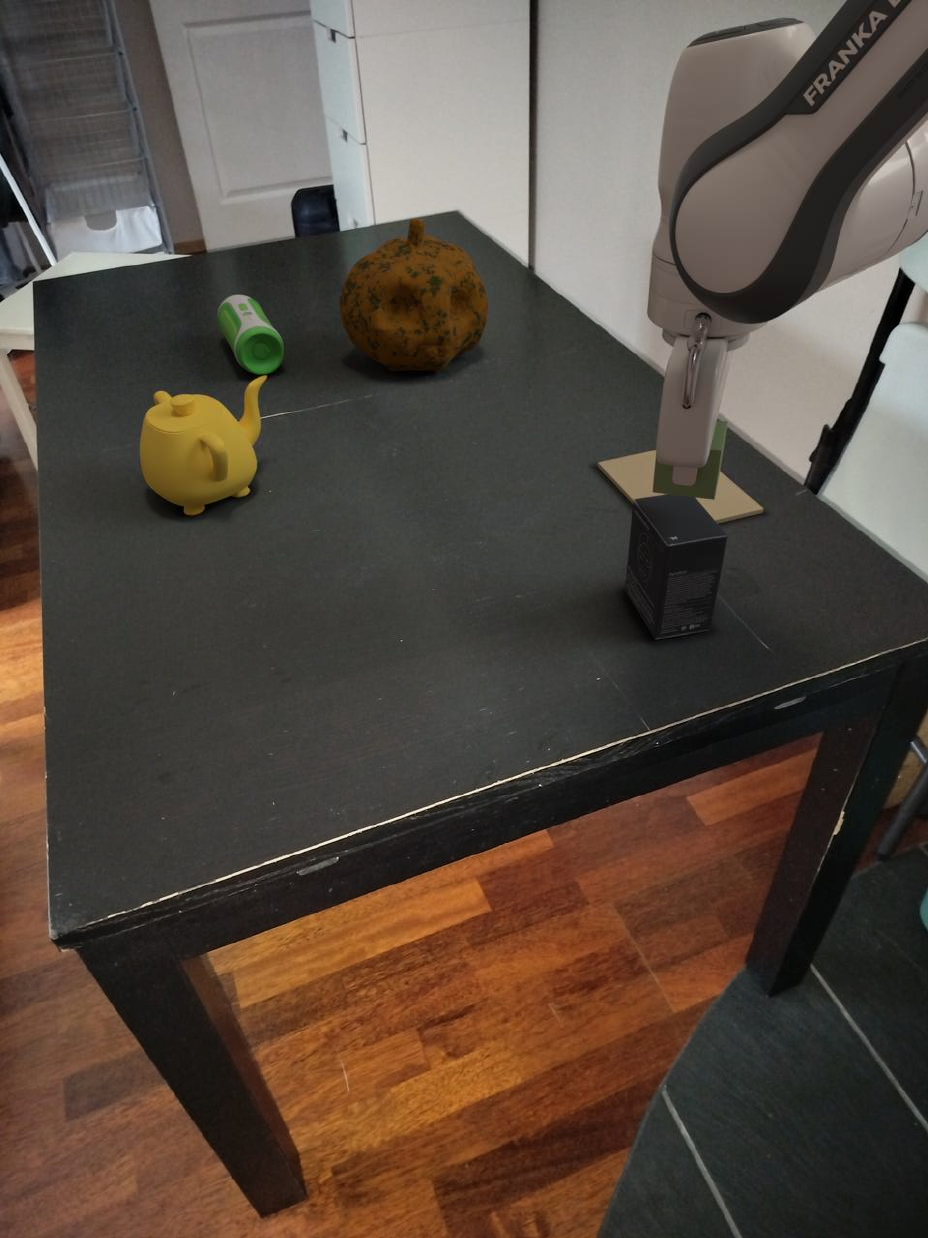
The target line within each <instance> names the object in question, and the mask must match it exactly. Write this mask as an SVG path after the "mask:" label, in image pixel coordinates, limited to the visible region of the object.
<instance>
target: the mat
mask: <svg viewBox="0 0 928 1238" xmlns="http://www.w3.org/2000/svg"><path fill="white" fill-rule="evenodd" d="M655 460H656V449H653V450H649V451H644V452H639V453H634V454H629V455H626V456H620V457H617V458H612V459H608V460H604V461H599V462H597V468H598V469H599V470H600V471H601V472H602V473H603V474H604V475H605V476H606V477H607V478H608V479H609V481H611V483H612V484H613V485H614V486H615V487H616V488H617V489H618V490H619V492H621V493H622V494H623V496H624V497H625V498H626V499H627V500H628V501H629V502H630V503H631V504H632V505H633V501H634V500H635V499H638V498H645V497H652V496H659V495H665V494H661V493H653V492H652V491H653V480H654V470H655ZM696 499H697V500H698V501H699V502H700V504H701V505H702V506H703V507H704V508H705V509H706V511H707V512H708V513H709V514H710V515H711V517H712V518H713V519H714V520H715V521H716V522H717V524H718V525H719V524H722V523H727V522H731V521H735V520H739V519H743V518H744V519H745V518H747V517H748V518H749V517H752V516H755V515H759V514H763V513H764V507H762V506H761V505H760V504H759V503H758V502H757V501H756V500H754V499H753V498H752V497H751V496H750V495H748V494H747V492H745V491H744V490H743V489H741V487H739V486H738V485H737V484H736V483H735V482H733V481H732V480H731V478H729V477H727V476H726V475H725V473H724V472H722V471H721V470H720V475H719V480H718V485H717V490H716V494H715V499H714V500H712V499H704V498H696Z"/></svg>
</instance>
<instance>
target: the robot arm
mask: <svg viewBox="0 0 928 1238" xmlns="http://www.w3.org/2000/svg"><path fill="white" fill-rule="evenodd" d="M662 122H663V123H662V130H661V137H660V138H661V139H660V145H659V146H660V147H659V157H658V170H657V189H658V195H659V200H660V218H659V223H658V227H657V229H656V232H655V233H654V234H655V235H654V237H653V241H652V248H651V259H650V270H649V271H650V272H649V282H648V283H649V285H648V297H647V309H646V314H647V315H646V316H647V318H648V319H649V321H650V322H652V324H654V325H655V326H657V327H659V329H660V328H661V329H662V333H661V337H662V340H663V341H664V343H666V344H668V345H669V346H671V347H672V349H671V352H670V355H669V357H668V361H667V365H666V369H665V373H664V378H663V384H662V391H661V392H662V393H661V398H660V399H661V401H660V407H659V417H658V424H657V434H656V441H655V442H656V443H655V450H656V458H657V461H658V462H659V463H660V464H663V465H669V466H674V467H673V477H672V480H673V482H674V483H675V484H678V485H686V486H691V485H693V484H694V483H695V481H696V476H697V471H698V468H702V467H704V466H705V464H706V462H707V459H708V456H709V452H710V448H711V444H712V439H713V435H714V431H715V426H716V422H717V421H718V419H719V418H718V417H719V413H720V409H721V405H722V400H723V395H724V391H725V387H726V383H727V378H728V374H729V370H730V366H731V361H732V358H733V354H734V352H735V350H738V349H740V348H742V347H744V346H745V345H746V344H747V343H748V342H749V340H750V337H751V336H750V334H751V333H753V332H755V331H757V330H760V329H761V328H763V327H764V326H766V325H767V324H768V323H769V322H770V321H773V320H775V319H777V318H779V317H781V316H783V315H784V314H786V313H788V312H789V311H790V310H792V309H794V308H796V307H797V306H798V305H801V304H802V303H804V302H806V301H807V300H808V299H809V298H811V297H812V296H814V295H815V294H818V293H820V292H821V291H824V290H826V289H828V288H831V287H832V286H835V285H837V284H839V283H841V282H843V281H845V280H848V279H850V278H851V277H854V276H856V275H859V274H860V273H862V272H864V271H866V270H867V269H869V268H871V267H873V266H876V265H878V264H881V263H882V262H884V261H886V260H888V259H890V258H892V257H894V256H896V255H898V254H899V253H901V252H902V251H904V250H906V249H907V248H908V247H909V248H910V247H911V246H912V245H914V244H916V243H917V242H918V241H920V240H921V239H922V238H923V237H924V236H925V235H926V234H927V233H928V0H845V2H844V3H843V4H842V6H841V7H840V8H839V9H838V10H837V12H836V13H835V14H834V16H833V17H832V18H831V19H830V20H829V22H828V23H827V25H825V27H824V28H823V30H822V31H821V32H820V33H819V35H817V36H816V34H815V33H814V31H813V29H812V27H811V26H810V25H809V24H808V23H806V22H805V21H803V20H799V19H797V18H795V17H779V18H773V19H768V20H763V21H758V22H754V23H748V24H745V25H738V26H734V27H728V28H724V29H719V30H715V31H710V32H707V33H705V34H703V35H701V36H698V37H697V38H695V39H694V40H692V41H691V42H690V43H689V45H687V46H686V47H685V48H684V49H683V50H682V52H681V54H680V56H679V58H678V60H677V63H676V65H675V68H674V71H673V74H672V77H671V81H670V85H669V88H668V93H667V99H666V103H665V109H664V115H663V121H662Z"/></svg>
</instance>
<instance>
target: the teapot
mask: <svg viewBox="0 0 928 1238" xmlns="http://www.w3.org/2000/svg"><path fill="white" fill-rule="evenodd" d="M267 378H268V375H260V376H258V377H257V378H255V379H254V380H251V382H249V384H248V385H247V386H246V388H245V392H244V395H243V396H244V399H243V401H244V403H243V404H244V410H243V415H242V416H241V418H240V420H239V421H238V420H237V419H236V418H235V416H234V415H233V414H232V412H230V410H229V409H228V408H227V407H226V406H225V405H224V404H223V403H222V402H221V401H219V400H217V399H216V398H214V397H211V396H208V395H205V394H189V393H182V394H177V395H175V396H171V395H170V394H169V393H168V392H167V391H165V390H158V391H156V392H154V394H153V401H154V404H155V405H154V406H152V407H150V408H149V409H148V410H147V412H146V413H145V415H144V418H143V423H142V428H141V433H140V442H139V459H140V467H141V472H142V476H143V478H144V481H145V483H146V484H147V486H149V488H150V489H151V490H152V491H153V492H154V493H156V494H157V495H159V496H160V498H163V499H165V500H166V501H168V502H170V503H172V504H174V505H176V506H181V507H183V513H184V514H185V515H187V516H196V515H198V514H199V515H200V514H201V513H202V512H204V511H205V508H206V507H205V505H210V504H212V503H215V502H218V501H221V500H223V499H226V498H229V497H234V498H241V497H245V496H247V495H248V494H249V493H250V492H251V489H250V488H249V487H248V486H249V485H250V484H251V483H252V480H253V479H254V477H255V475H256V473H257V468H258V459H257V456H256V452H255V449H254V447H253V446H255V444H256V443H257V441H258V439H259V437H260V435H261V430H262V420H261V415H260V409H259V392H260V389H261V387H262V385H263V384H264V383H265V381H266V380H267Z"/></svg>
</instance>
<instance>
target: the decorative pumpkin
mask: <svg viewBox="0 0 928 1238" xmlns="http://www.w3.org/2000/svg"><path fill="white" fill-rule="evenodd" d="M408 224H409V225H408V231H407V238H405V237H395V238H393V239H389V240H386V241H385V242H384V243H383V244H381V245H380V246H379V247H378V248H377V249H376V250H375V251H373V252H371V253H368V254H367V255H365V256H363V257H361V258H360V259H359V260H357V262H356V263H355V264H354V265H352V267H351V269H350V271H349V273H348V274H347V275H346V278H345V280H344V282H343V285H342V288H341V291H340V295H339V302H338V304H339V306H338V308H339V314H340V321H341V323H342V326H343V328H344V331H345V333H346V335H347V337H348V340H349V341H350V343H351V345H353V346H354V347H355V348H356V349H357V350H358V351H359V352H360V353H362V355H364V356H366V357H367V358H369V359H370V360H373V361H375V362H378V363H379V364H381V365H383V366H384V367H385V369H387V370H389V371H392V372H405V371H427V372H429V371H430V372H439V371H442V370H444V369H445V368H446V367H447V366H448V364H449V363H450V362H451V361H452V360H453V359H454V358H455V357H458V356H460V355H463V354H466V352H468V351H470V350H473V349H474V348H475V347H476V346H477V345H478V344H479V342H480V340H481V338H482V337H483V332H484V330H485V328H486V325H487V322H488V320H487V319H488V314H489V313H488V312H489V304H488V303H489V302H488V297H487V290H486V286H485V284H484V282H483V280H482V279H481V277H480V276H479V274H478V272H477V269H476V266H475V263H474V260H472V258H471V256H470V255H469V254H468V253H467V252H466V251H465V250H464V249H463V248H462V247H460V246H459V245H457V244H455V243H451V242H446V241H443V240H440V239H438V238H436V237H434V236H431V235H428V234H424V232H425V222H424V221H423V219H420V218H417V219H416V218H412V219H410V220H409V223H408Z"/></svg>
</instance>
